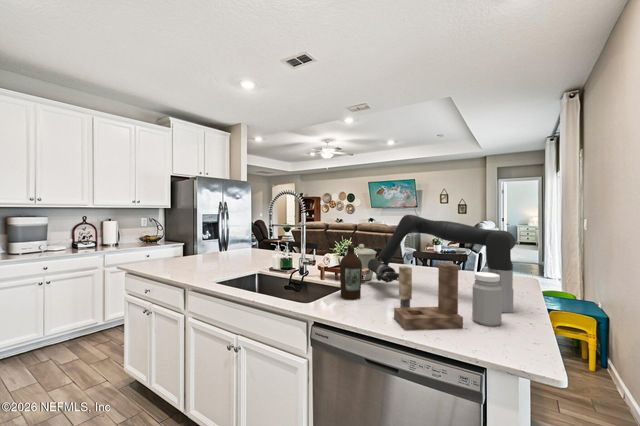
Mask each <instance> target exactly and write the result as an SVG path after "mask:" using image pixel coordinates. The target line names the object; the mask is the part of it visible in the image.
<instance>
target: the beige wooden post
mask: <svg viewBox="0 0 640 426" xmlns="http://www.w3.org/2000/svg"><path fill="white" fill-rule="evenodd" d="M398 273H399V281H398V298H400V299H399V300H400V301H399V303H400V304H399V306H400V307H399V308H407V307H411V300H412V295H413V292H412V291H413V285H412V284H413V277H412V276H413V268H412V267H411V266H408V265H399V267H398Z"/></svg>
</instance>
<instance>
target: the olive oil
mask: <svg viewBox="0 0 640 426" xmlns="http://www.w3.org/2000/svg"><path fill="white" fill-rule="evenodd" d="M354 248H355V245H354V244H347V248H346V249H347V250H346V253H345V255H343V257H342V258H341V260H340V261H339V278H340V279H339V280H340V297H341V299H343V300H349V301H350V300H351V301H354V300H355V301H356V300H359V299H360V298H361V293H362V288H361V287H362V280H361V274H362V263H361V260H360V259H359V258H358V257H357V255H356V254H355V253H354Z"/></svg>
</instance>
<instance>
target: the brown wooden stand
mask: <svg viewBox="0 0 640 426" xmlns="http://www.w3.org/2000/svg"><path fill="white" fill-rule="evenodd" d="M436 269H438V274H437V275H438V284H437V285H438V286H437V287H438V288H437V289H438V294H437V295H438V296H437V297H438V298H437V301H438V302H437V303H438V304H437V306H417V307H413V306H410V307H407V308H400V307H394V308H393V313H394V314H393V318H394V320H395V321H396V322H397V323H398V325H400V326H401V327H402V328H403V329H404V331H420V330H421V331H423V330H424V329H428V330H454V329H458V330H459V329H464V317H463V316H462V315H460V314H459V313H458V312H459V311H458V310H459V308H458V307H459V305H458V304H459V271H461V265H458V264H456V263H452V262H449V263H448V262H445V263H444V262H443V263H442V262H440V263H439V262H438V263H436Z"/></svg>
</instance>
